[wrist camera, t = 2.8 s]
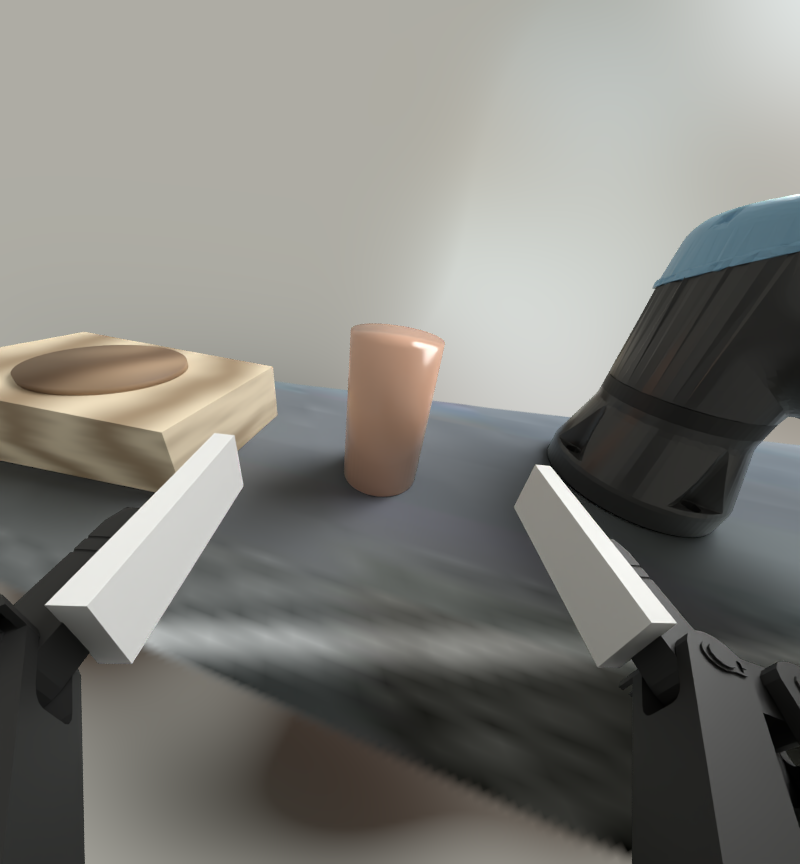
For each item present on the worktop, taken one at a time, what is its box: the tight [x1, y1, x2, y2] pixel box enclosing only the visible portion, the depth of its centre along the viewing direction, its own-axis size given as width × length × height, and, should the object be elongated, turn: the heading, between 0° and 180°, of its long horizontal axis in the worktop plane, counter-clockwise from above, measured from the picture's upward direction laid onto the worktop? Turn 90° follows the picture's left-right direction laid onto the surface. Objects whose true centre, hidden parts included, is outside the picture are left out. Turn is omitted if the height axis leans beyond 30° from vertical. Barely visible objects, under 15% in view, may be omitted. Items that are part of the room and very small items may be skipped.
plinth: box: [0, 332, 277, 492], centre depth 24 cm, size 20×13×6 cm, turn 83°
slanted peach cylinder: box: [344, 324, 445, 497], centre depth 22 cm, size 6×6×12 cm
